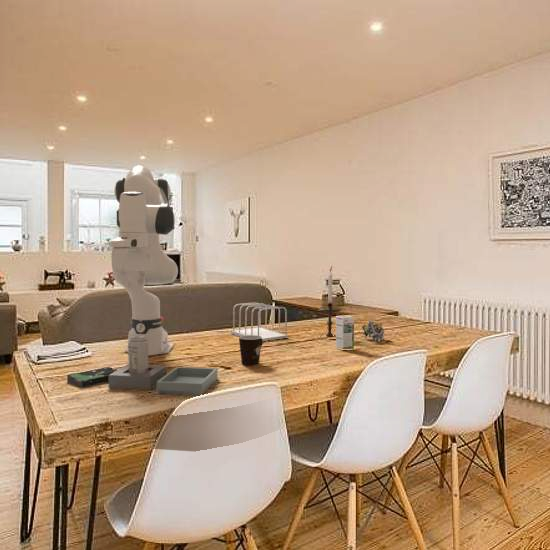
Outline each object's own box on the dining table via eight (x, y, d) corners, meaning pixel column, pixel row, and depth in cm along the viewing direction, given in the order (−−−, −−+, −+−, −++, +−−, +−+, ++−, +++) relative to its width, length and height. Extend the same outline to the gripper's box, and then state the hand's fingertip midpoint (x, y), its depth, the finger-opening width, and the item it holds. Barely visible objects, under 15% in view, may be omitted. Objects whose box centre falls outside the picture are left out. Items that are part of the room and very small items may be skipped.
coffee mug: (245, 367, 175) (245, 340, 174) (234, 362, 182) (234, 336, 181) (273, 363, 181) (273, 337, 180) (261, 359, 188) (261, 333, 187)
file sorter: (231, 334, 240) (231, 303, 239) (260, 331, 250) (260, 301, 249) (257, 343, 220) (257, 309, 219) (288, 339, 229) (288, 306, 228)
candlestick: (342, 336, 235) (343, 265, 233) (339, 340, 225) (340, 266, 222) (319, 335, 238) (320, 264, 235) (316, 339, 227) (317, 265, 225)
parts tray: (177, 377, 162) (176, 366, 161) (217, 378, 160) (217, 368, 160) (156, 393, 144) (156, 381, 144) (201, 395, 142) (201, 383, 142)
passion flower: (378, 353, 222) (374, 335, 215) (358, 346, 229) (354, 328, 222) (390, 337, 228) (387, 319, 221) (371, 330, 235) (367, 312, 228)
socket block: (128, 376, 163) (127, 364, 163) (166, 377, 161) (166, 365, 161) (108, 387, 149) (108, 375, 149) (150, 389, 147) (150, 376, 147)
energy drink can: (151, 383, 154) (150, 337, 154) (132, 386, 151) (132, 339, 150) (144, 379, 159) (143, 334, 158) (126, 381, 156) (125, 336, 155)
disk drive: (108, 374, 167) (66, 382, 156) (108, 366, 167) (66, 374, 156) (124, 380, 160) (82, 389, 149) (124, 371, 160) (82, 380, 149)
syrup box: (342, 351, 202) (343, 317, 202) (335, 348, 208) (335, 315, 207) (354, 350, 205) (354, 316, 204) (346, 347, 210) (347, 314, 209)
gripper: (140, 243, 164) (140, 283, 165) (107, 241, 144) (108, 287, 145) (157, 243, 163) (157, 283, 163) (126, 241, 143) (127, 287, 143)
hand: (134, 285), depth 154 cm, fingers open, 8 cm apart
